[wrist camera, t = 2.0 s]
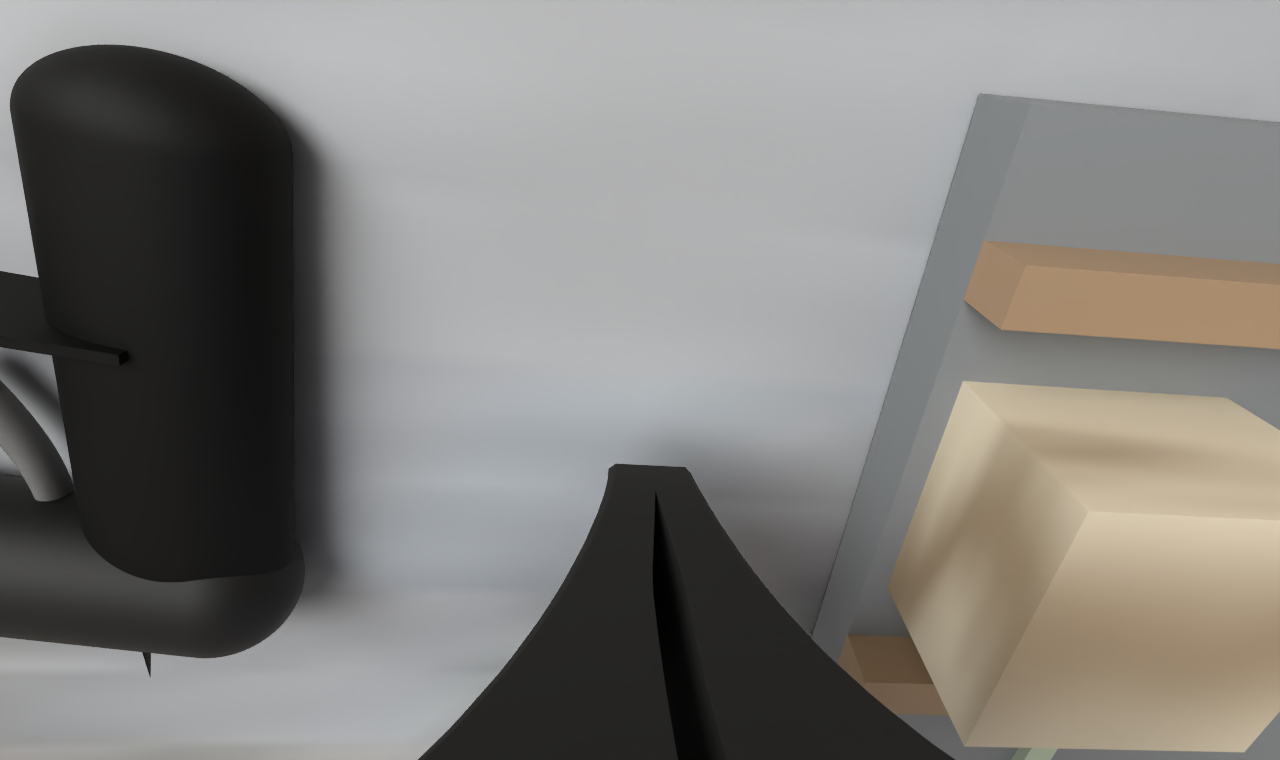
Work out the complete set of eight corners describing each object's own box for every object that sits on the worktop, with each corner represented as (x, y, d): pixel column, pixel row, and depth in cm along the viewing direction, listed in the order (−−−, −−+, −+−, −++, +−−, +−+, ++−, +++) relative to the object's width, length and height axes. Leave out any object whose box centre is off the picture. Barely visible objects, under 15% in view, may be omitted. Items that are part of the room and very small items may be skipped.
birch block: (1108, 595, 14) (1244, 752, 11) (887, 586, 14) (963, 746, 11) (1227, 398, 12) (1438, 528, 9) (963, 381, 12) (1088, 511, 8)
